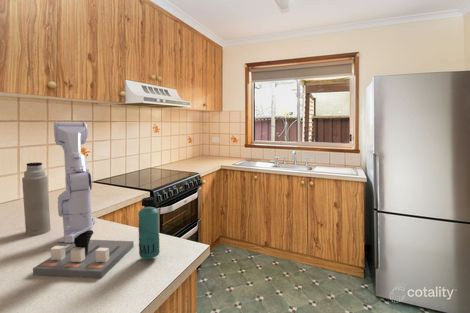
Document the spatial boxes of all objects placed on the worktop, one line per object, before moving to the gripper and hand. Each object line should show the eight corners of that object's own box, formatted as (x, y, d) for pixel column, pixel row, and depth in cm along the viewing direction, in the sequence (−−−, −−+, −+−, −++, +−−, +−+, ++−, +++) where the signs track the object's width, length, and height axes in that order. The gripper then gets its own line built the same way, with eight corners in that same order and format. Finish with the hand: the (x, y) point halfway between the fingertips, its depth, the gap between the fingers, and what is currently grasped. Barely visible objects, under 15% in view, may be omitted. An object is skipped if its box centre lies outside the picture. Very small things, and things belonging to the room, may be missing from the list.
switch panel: (79, 244, 94) (78, 229, 93) (133, 246, 93) (133, 231, 92) (33, 275, 74) (32, 256, 74) (101, 278, 73) (100, 259, 72)
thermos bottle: (20, 235, 101) (15, 164, 98) (34, 228, 109) (29, 161, 106) (43, 235, 102) (38, 164, 99) (54, 227, 110) (50, 161, 107)
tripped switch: (75, 258, 79) (75, 247, 79) (85, 258, 79) (84, 247, 79) (71, 261, 77) (70, 250, 77) (80, 262, 77) (80, 250, 77)
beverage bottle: (154, 252, 89) (152, 194, 87) (164, 259, 84) (163, 198, 82) (135, 258, 84) (133, 197, 82) (144, 266, 80) (143, 201, 78)
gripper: (78, 205, 85) (80, 245, 87) (51, 220, 71) (54, 268, 72) (100, 205, 86) (102, 244, 87) (79, 220, 72) (81, 267, 73)
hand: (82, 255), depth 80 cm, fingers closed, pressing on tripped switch
